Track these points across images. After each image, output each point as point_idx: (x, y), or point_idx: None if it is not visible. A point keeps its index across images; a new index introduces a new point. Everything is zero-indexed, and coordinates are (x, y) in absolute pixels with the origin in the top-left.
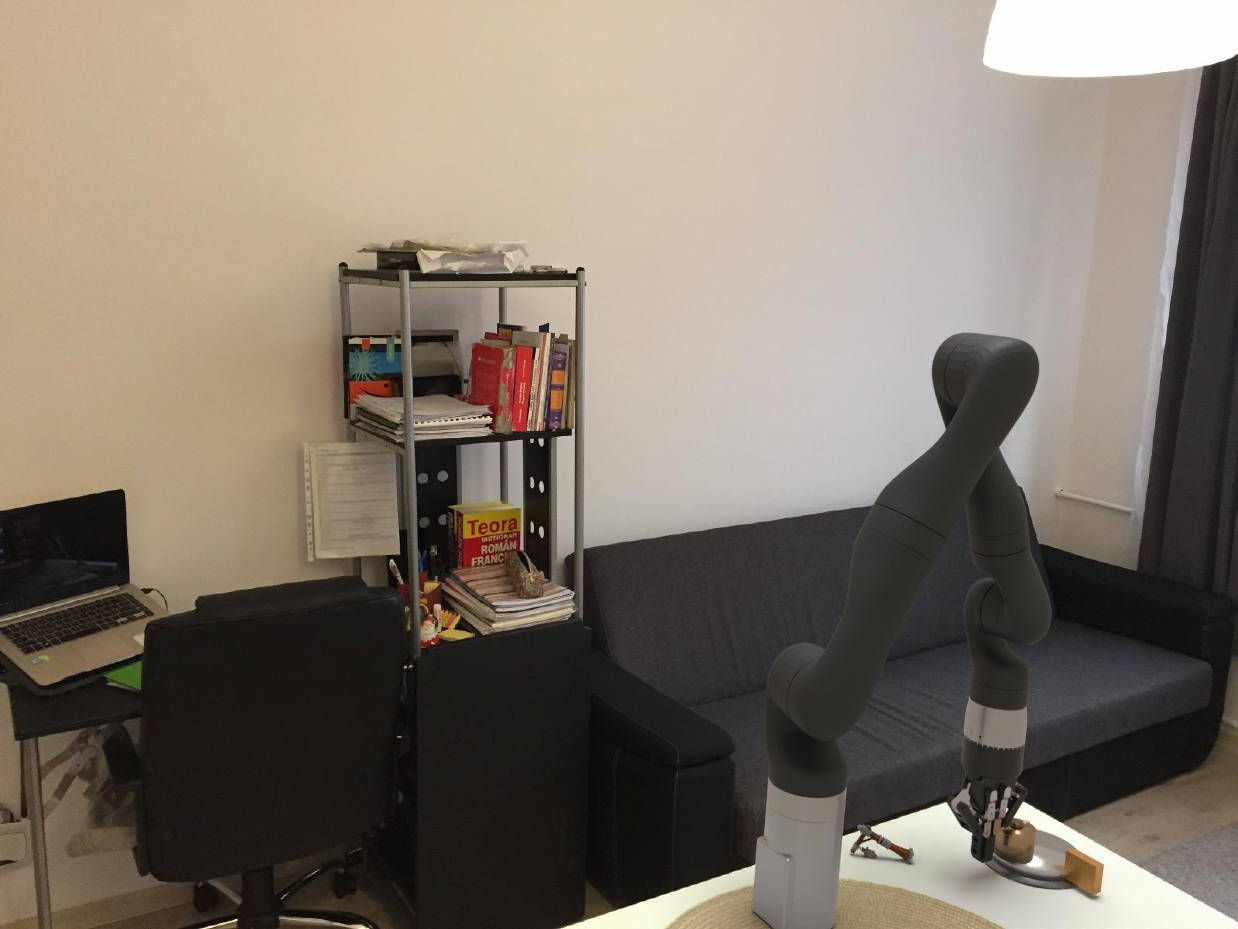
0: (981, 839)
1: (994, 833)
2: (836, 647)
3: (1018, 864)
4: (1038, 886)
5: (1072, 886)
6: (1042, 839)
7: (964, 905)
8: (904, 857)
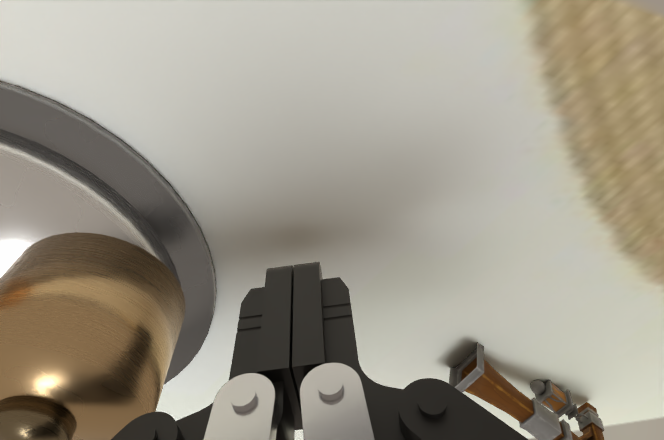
0: (348, 361)
1: (262, 385)
2: None
3: (124, 235)
4: (82, 119)
5: None
6: None
7: (516, 94)
8: (487, 366)
